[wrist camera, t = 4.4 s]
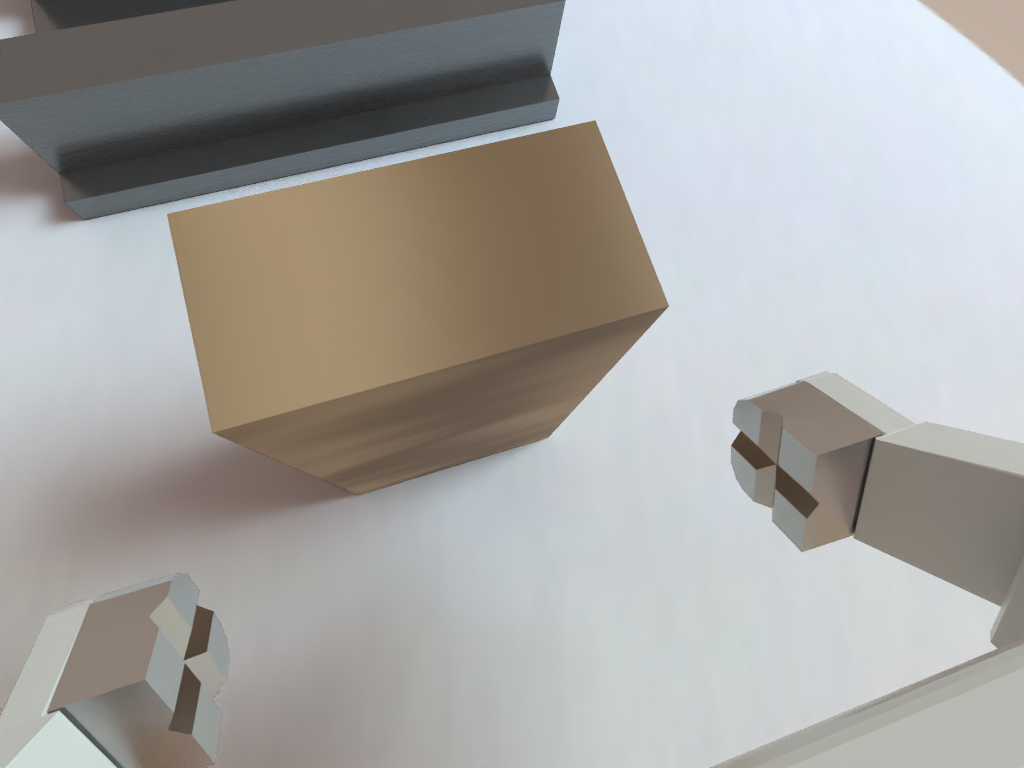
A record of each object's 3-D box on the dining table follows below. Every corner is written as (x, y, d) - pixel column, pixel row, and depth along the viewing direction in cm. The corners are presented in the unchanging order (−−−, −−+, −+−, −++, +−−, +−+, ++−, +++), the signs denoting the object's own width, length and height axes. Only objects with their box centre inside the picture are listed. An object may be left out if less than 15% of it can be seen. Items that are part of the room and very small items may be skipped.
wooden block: (358, 495, 18) (212, 433, 7) (334, 400, 18) (167, 213, 8) (548, 437, 19) (668, 306, 8) (519, 349, 19) (595, 120, 9)
